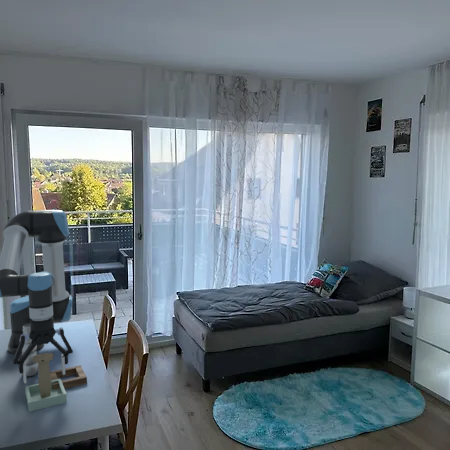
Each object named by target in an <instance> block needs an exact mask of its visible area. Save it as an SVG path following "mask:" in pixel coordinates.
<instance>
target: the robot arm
mask: <svg viewBox="0 0 450 450" xmlns="http://www.w3.org/2000/svg"><path fill="white" fill-rule="evenodd" d="M69 235H70V230H69V222H68V217H67V214H66V212H65V210H64V211H63V210H62V209H61V210H59V209H46V210H45V209H40V210H38V209H37V210H24V211H21V212H18V213H17V214H16V215H14V216H13V217H11V219H9V220H8V222H7V223H6V225H5V227H4V228H3V232H2V237H3V239H4V240H3V244H2V249H1V252H0V298H1V299H2V298H8V297H9V298H10V297H19V296H20V297H19V298H16V299H14V300H13V301H11V302H10V305H9V315H10V328H11V329H10V330H11V331H10V332H11V334H10V337H9V340H8V345H7V350H8V351H7V352H8V353H11V354H14V357H13V359H12V364H13V365H18V368H19V369H18V370H19V371H18V372H19V374H20V375H22V377H23V383H24V384H27V376H26V364H25V360H26V359H27V357H28V356H29V354H30V353H31V351H32V350H33V349H34V348H35V346H36V345H37V350H36V351H38V350H40V349H42V348H44V346H45V345H48V344H49V343H51V345H53V346H54V347H55V348H56V350H58V351H59V352H60V353H61V355H60V356H61V357H60V360H61V369H62V373H63V375H65V368H66V365H68V364H69V358H68V356H69V355H70V354H73V352H74V351H73V348H72V347H71V344H70V343H69V341H68V339H67V337H66V335H65V331H64V328H63V327H59V328H57V329H55V324H58V323H60V324H61V323H65V322H66V323H67V322H69V321H70V320H71V319H72V318H71V317H72V307H73V296H71V295H70V293H69V291H67V290H66V277H65V276H66V275H65V262H64V261H65V260H64V247H63V246H64V245H63V243H64V242H65V241H66V239H67V237H68V236H69ZM29 238H37V242H38V243H39V244H41V247H42V248H41V250H42V252H41V253H42V261H43V262H42V263H43V271H39V272H33V273H29V274H20V271H21V264H22V260H23V253H24V249H25V248H24V247H25V243H26V242H27V241H28V239H29ZM22 296H23V297H22ZM28 324H30V334H27V335H24V334H23V326H24V325H28ZM56 334H57V335H58V336H60V338H61V339H62V342H63V343H64V345H65V347H66V349H65V348H64V347H63V346H62V345H61V344H60V343H59V342H58V341H57V340H55V338H54V336H56ZM28 338H30V339H31V340H32V341H31V343H30V345H29V346H28V348H27V349H26V351H25V352H24V354H23V355H22V349H23V347H24V344H25V341H27V339H28Z"/></svg>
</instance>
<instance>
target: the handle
mask: <svg viewBox="0 0 450 450" xmlns="http://www.w3.org/2000/svg"><path fill="white" fill-rule="evenodd" d="M53 359H54V353H52V352H44V353H39V354H37V355H35V356H34V357H33V360H34V362H36V363H38V364H39V370H38V384H39V390H40V393H41V398H46V397H50V394H51V392H50V391H51V376H50V372H51V370H50V369H51V368H50V361H52V360H53Z"/></svg>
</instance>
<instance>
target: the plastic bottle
mask: <svg viewBox="0 0 450 450" xmlns="http://www.w3.org/2000/svg"><path fill="white" fill-rule="evenodd" d="M23 334H24V335H27V334H30V324H28V325H24V326H23ZM31 341H32V340H31V339H30V338H28V339H27V341H25V344H24V347H23V349H22V354H21V356H22V355H23V354H24V352H25V351H26V349H27V348H28V346H29V345H30V343H31ZM37 351H38V350H37V345H36V346H35V348H34V349H33V350H32V351H31V353H30V354H29V356H28V357H27V359H26V360H25V364H26V377H32V376H33V377H34V375H36V374H38V373H39V364H38V363H36V362H34V360H33V357H34V356H35V355H38V354H37Z"/></svg>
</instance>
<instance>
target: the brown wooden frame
mask: <svg viewBox="0 0 450 450" xmlns="http://www.w3.org/2000/svg"><path fill="white" fill-rule="evenodd" d="M74 375H76V377H73V378H68V379H64V380H61V381H62V384H63V386H64V389H65V390H66V389H68V388H74V387H78V386H83V385H87V384H88V376H87V375H86V373H85V371H84V369H83V367H82V365H81V364H80V365H76V366H71V367H65V375H63V373H62V368H61V369H57V370H56V369H55V370H52V371H51V370H50V376H51V381H52V380H57V379H61V378H65V377H70V376H74ZM52 385H53V390H55V389H59V383H58V382H56V383H52Z"/></svg>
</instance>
